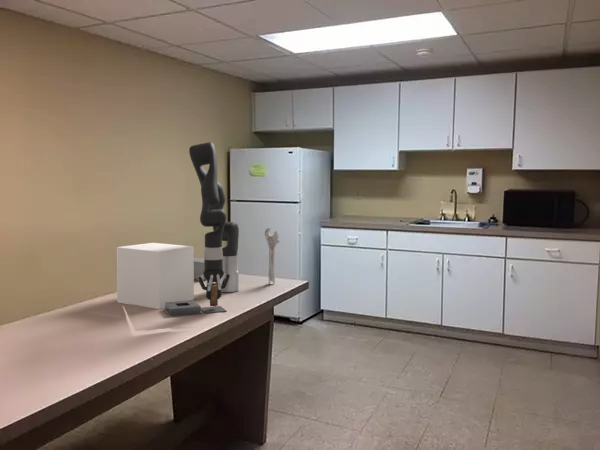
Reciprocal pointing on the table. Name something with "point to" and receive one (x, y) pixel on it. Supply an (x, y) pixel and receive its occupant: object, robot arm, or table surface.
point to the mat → (212, 309)
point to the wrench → (271, 252)
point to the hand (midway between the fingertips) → (213, 298)
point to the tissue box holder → (198, 267)
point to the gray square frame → (182, 308)
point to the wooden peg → (214, 294)
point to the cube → (155, 274)
